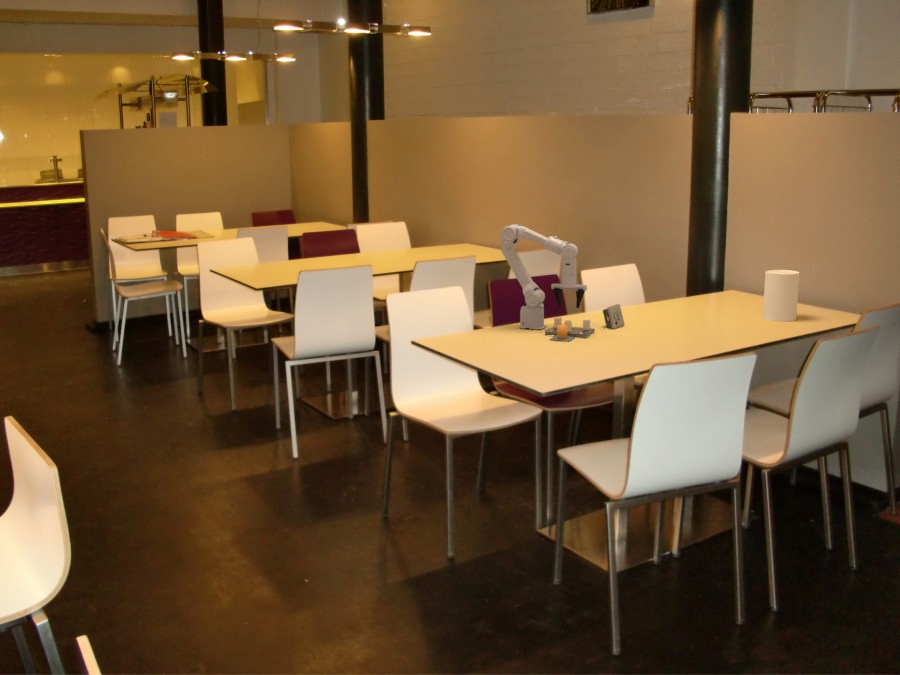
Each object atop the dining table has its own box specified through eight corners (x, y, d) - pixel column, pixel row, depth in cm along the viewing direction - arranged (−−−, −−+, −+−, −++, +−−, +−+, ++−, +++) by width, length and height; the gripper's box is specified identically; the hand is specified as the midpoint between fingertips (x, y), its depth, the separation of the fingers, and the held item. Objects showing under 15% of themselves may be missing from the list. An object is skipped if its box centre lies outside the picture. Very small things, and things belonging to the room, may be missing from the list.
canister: (793, 322, 381) (796, 275, 377) (759, 320, 387) (762, 273, 383) (798, 317, 392) (801, 270, 388) (766, 314, 399) (768, 268, 395)
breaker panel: (545, 335, 365) (545, 330, 364) (554, 329, 375) (554, 324, 375) (586, 338, 358) (586, 333, 358) (594, 332, 369) (594, 327, 368)
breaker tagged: (564, 331, 363) (564, 321, 362) (565, 330, 365) (565, 320, 364) (570, 332, 362) (570, 321, 361) (571, 331, 364) (571, 320, 363)
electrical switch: (613, 329, 373) (612, 307, 372) (602, 329, 377) (601, 307, 375) (624, 325, 381) (623, 303, 379) (613, 325, 384) (612, 303, 382)
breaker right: (582, 329, 366) (583, 319, 365) (584, 328, 368) (584, 319, 367) (588, 330, 365) (589, 320, 364) (590, 329, 367) (590, 319, 366)
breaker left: (554, 327, 371) (554, 318, 370) (555, 326, 373) (555, 317, 372) (560, 328, 370) (560, 318, 369) (561, 327, 372) (561, 317, 371)
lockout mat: (549, 340, 355) (549, 339, 355) (555, 336, 362) (555, 335, 362) (569, 342, 352) (569, 341, 352) (575, 337, 359) (575, 336, 359)
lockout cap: (556, 339, 356) (556, 326, 355) (557, 336, 360) (557, 324, 359) (566, 339, 355) (566, 326, 354) (568, 337, 359) (568, 324, 358)
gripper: (549, 274, 369) (548, 307, 372) (583, 276, 363) (583, 309, 366) (554, 272, 376) (554, 304, 378) (588, 273, 370) (588, 306, 373)
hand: (568, 307), depth 373 cm, fingers open, 7 cm apart
